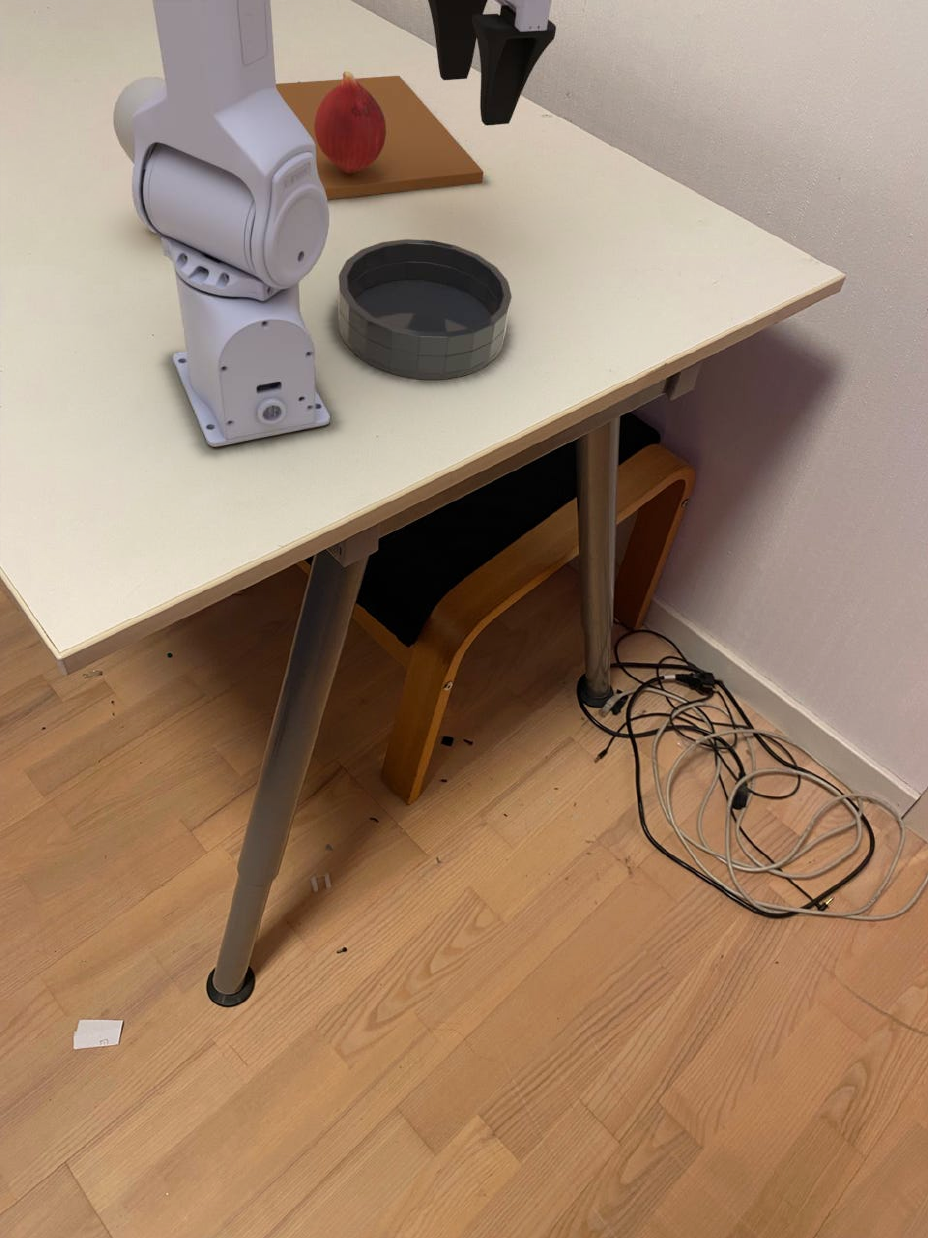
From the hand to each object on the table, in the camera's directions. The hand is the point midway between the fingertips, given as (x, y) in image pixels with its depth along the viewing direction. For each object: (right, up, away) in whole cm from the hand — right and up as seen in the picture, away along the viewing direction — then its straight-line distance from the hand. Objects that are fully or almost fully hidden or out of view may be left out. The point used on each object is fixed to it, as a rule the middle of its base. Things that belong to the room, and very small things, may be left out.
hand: (474, 99), depth 70 cm
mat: (-10, +5, +15) cm, 19 cm away
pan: (-4, -18, -2) cm, 19 cm away
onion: (-11, -2, +9) cm, 14 cm away
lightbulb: (-24, -9, +2) cm, 25 cm away
